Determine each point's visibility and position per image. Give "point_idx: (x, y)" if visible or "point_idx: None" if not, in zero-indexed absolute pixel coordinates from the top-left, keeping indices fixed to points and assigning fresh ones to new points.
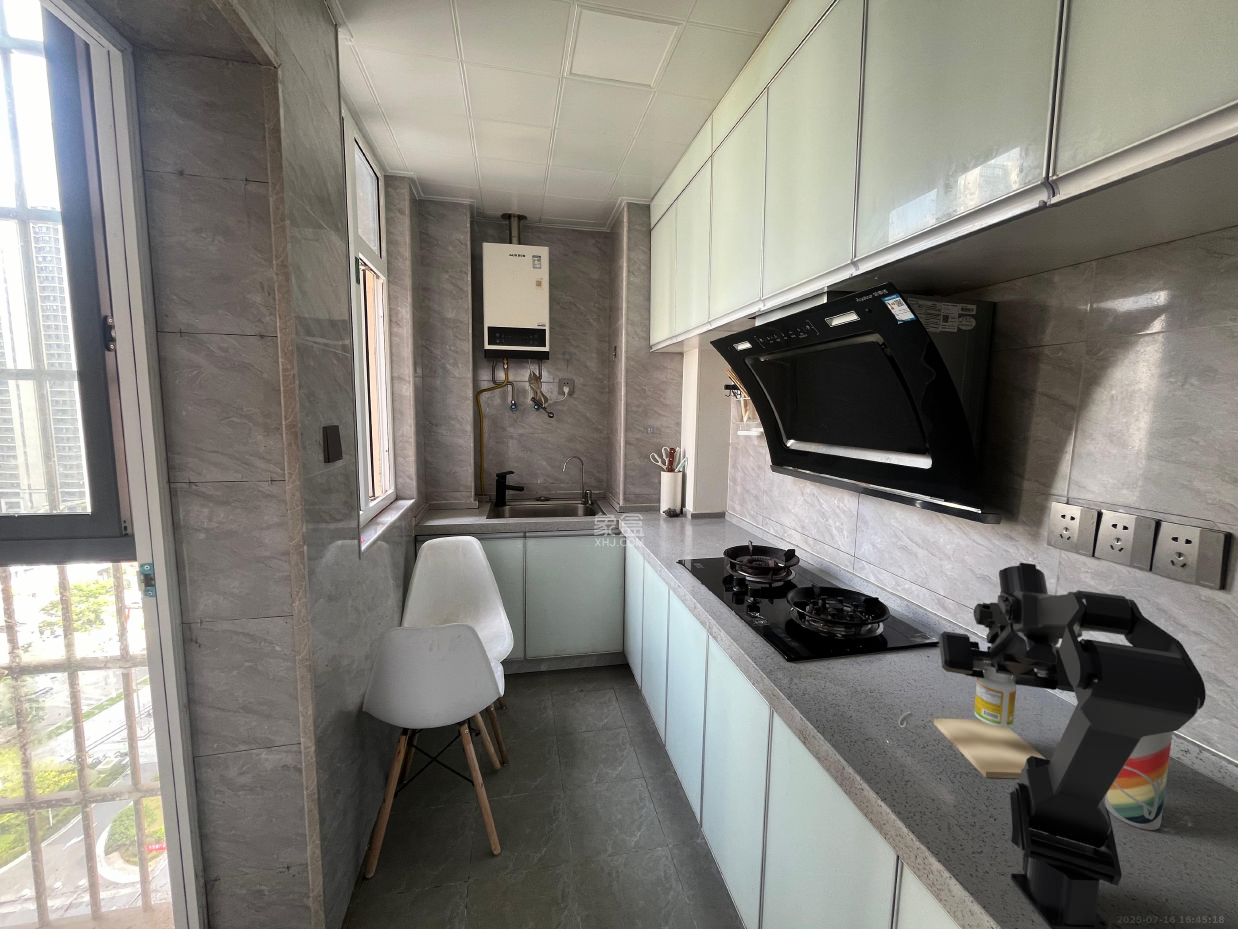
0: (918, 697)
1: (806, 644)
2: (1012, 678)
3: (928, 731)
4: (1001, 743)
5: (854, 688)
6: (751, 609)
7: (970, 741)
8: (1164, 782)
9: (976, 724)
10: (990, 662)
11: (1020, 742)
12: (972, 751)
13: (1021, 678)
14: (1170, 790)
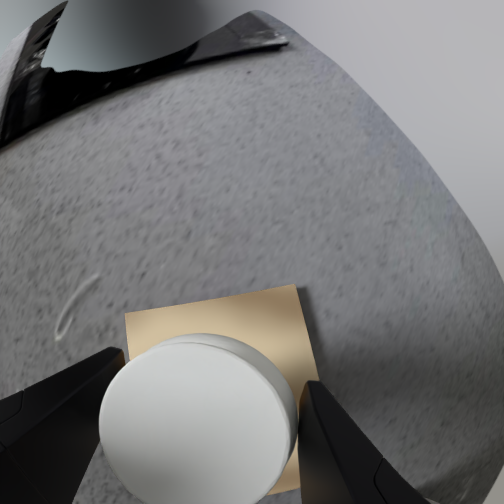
0: (148, 208)
1: (50, 94)
2: (306, 386)
3: None
4: None
5: (37, 207)
6: (42, 46)
7: None
8: None
9: (224, 319)
10: (151, 397)
11: (303, 378)
12: None
13: (314, 496)
14: (489, 414)
